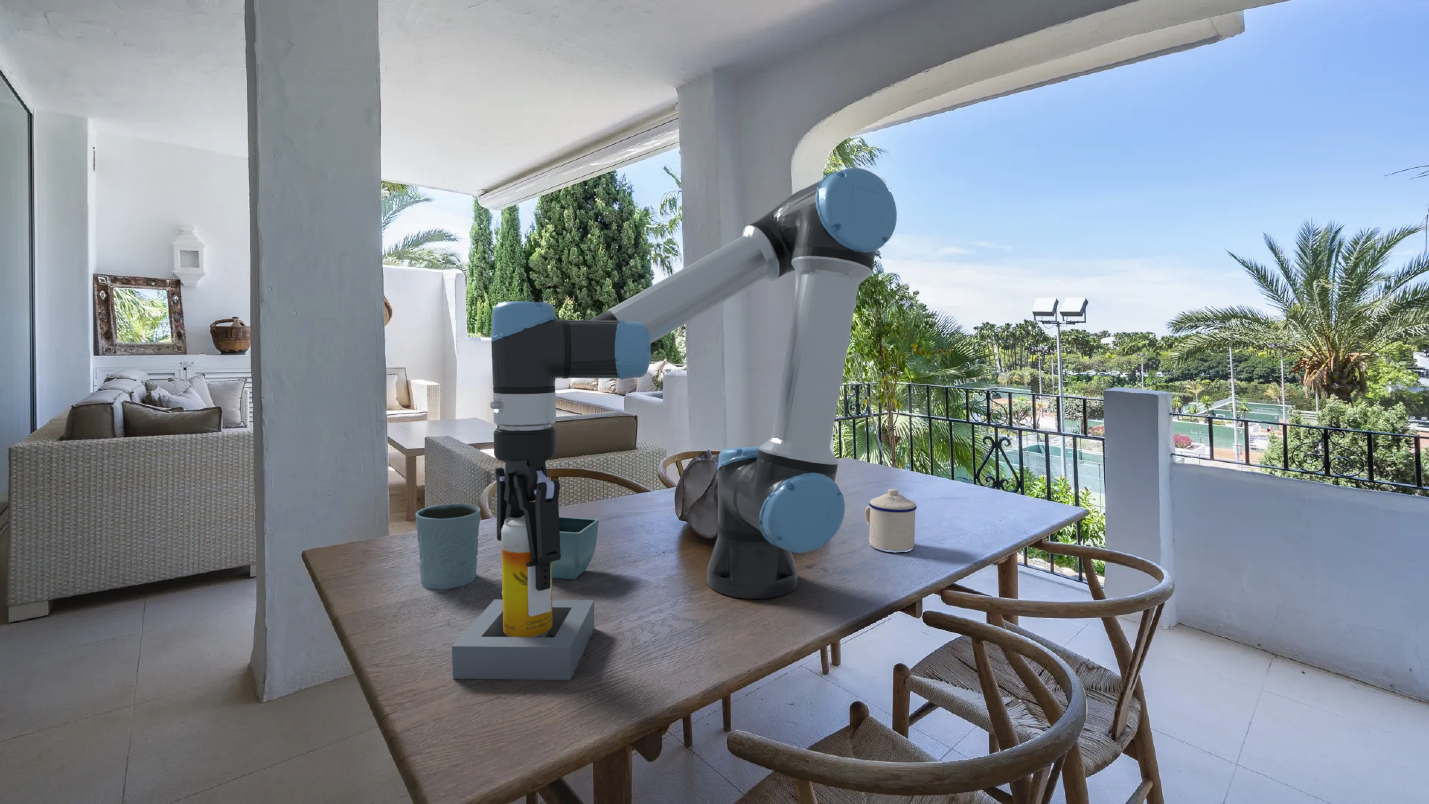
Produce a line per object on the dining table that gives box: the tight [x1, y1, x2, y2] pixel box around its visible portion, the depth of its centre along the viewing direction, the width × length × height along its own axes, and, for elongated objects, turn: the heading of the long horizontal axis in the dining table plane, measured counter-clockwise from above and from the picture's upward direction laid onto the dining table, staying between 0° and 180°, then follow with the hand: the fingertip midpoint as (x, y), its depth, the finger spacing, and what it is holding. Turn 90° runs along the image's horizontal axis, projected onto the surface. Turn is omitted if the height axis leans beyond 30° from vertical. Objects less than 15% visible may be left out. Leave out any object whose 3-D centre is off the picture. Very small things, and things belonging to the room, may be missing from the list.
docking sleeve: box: [451, 598, 595, 681], centre depth 82 cm, size 14×14×4 cm
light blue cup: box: [415, 503, 482, 590], centre depth 106 cm, size 10×10×12 cm
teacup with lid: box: [864, 488, 918, 551], centre depth 127 cm, size 12×9×12 cm
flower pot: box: [552, 516, 600, 580], centre depth 109 cm, size 9×9×9 cm
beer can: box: [500, 515, 553, 637], centre depth 81 cm, size 6×6×15 cm
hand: (528, 604), depth 81 cm, fingers closed on beer can, 6 cm apart
